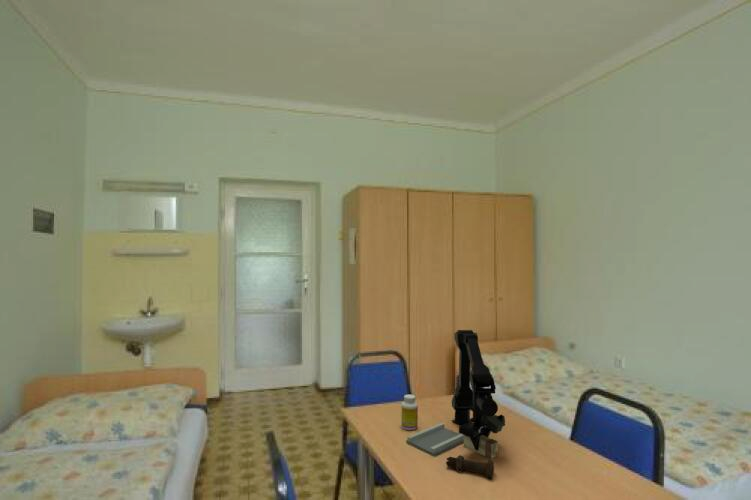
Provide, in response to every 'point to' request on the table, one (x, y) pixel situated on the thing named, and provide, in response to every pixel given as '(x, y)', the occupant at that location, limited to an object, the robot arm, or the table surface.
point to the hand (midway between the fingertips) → (480, 448)
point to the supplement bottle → (409, 413)
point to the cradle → (435, 440)
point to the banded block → (483, 446)
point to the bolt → (472, 465)
